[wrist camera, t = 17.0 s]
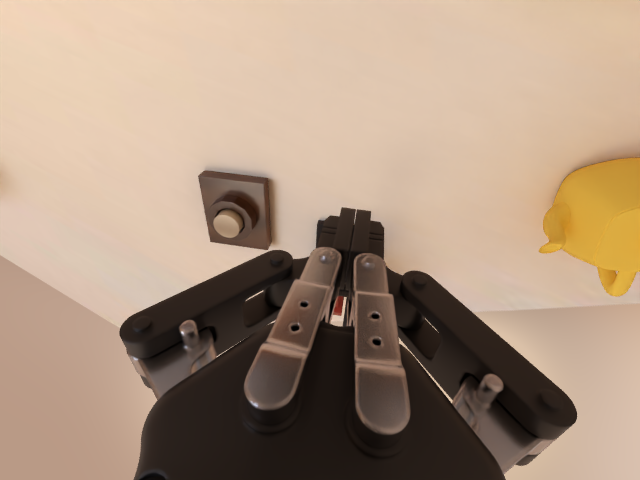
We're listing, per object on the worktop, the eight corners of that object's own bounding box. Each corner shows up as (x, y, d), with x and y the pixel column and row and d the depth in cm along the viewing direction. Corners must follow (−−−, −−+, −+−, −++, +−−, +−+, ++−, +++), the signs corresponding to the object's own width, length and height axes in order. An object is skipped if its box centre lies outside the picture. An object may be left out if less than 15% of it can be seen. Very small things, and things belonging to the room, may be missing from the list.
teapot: (499, 258, 48) (524, 311, 40) (519, 160, 40) (556, 200, 31) (675, 255, 44) (748, 315, 35) (741, 143, 35) (859, 185, 26)
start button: (216, 207, 47) (211, 213, 46) (242, 210, 47) (237, 216, 45) (220, 229, 50) (215, 235, 48) (244, 233, 49) (240, 239, 48)
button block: (204, 170, 48) (191, 181, 45) (268, 177, 47) (259, 189, 44) (215, 235, 55) (204, 249, 52) (271, 243, 54) (264, 257, 51)
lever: (306, 270, 33) (302, 293, 32) (364, 279, 32) (361, 303, 31) (315, 294, 46) (312, 311, 45) (356, 300, 45) (354, 318, 44)
